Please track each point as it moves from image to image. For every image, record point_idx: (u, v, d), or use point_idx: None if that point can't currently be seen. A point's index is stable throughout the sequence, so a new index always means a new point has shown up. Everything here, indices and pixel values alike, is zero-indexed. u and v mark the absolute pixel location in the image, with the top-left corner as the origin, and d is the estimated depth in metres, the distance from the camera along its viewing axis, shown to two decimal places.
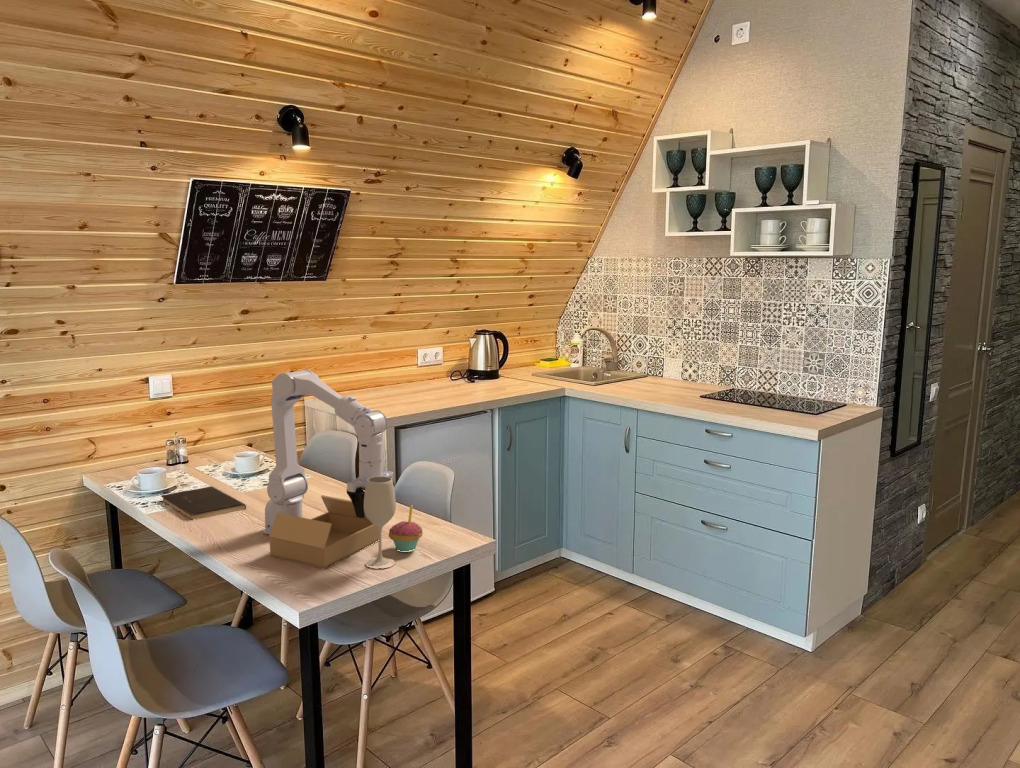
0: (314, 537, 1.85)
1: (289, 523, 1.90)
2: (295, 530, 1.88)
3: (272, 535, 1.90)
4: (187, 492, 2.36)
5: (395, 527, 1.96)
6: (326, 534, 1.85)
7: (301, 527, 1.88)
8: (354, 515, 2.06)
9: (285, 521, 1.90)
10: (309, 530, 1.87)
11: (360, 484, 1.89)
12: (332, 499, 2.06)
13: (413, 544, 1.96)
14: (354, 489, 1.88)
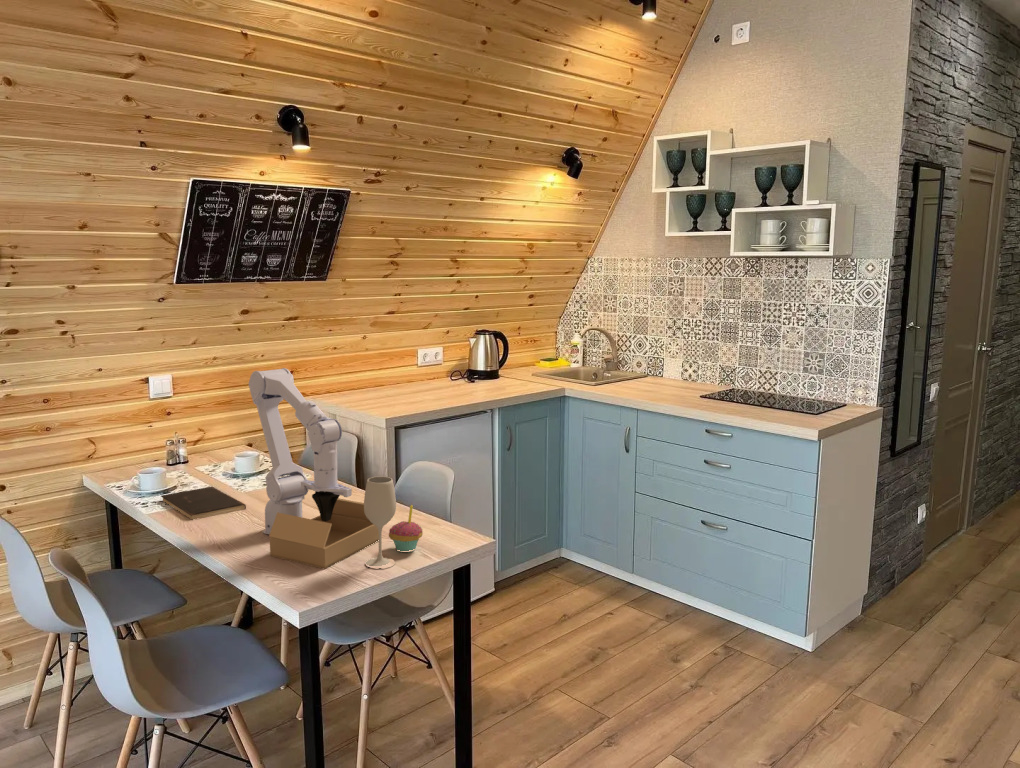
0: (314, 537, 1.85)
1: (289, 523, 1.90)
2: (295, 530, 1.88)
3: (272, 535, 1.90)
4: (187, 492, 2.36)
5: (395, 527, 1.96)
6: (326, 534, 1.85)
7: (301, 527, 1.88)
8: (354, 515, 2.06)
9: (285, 521, 1.90)
10: (309, 530, 1.87)
11: (306, 484, 1.96)
12: None
13: (413, 544, 1.96)
14: (302, 487, 1.98)
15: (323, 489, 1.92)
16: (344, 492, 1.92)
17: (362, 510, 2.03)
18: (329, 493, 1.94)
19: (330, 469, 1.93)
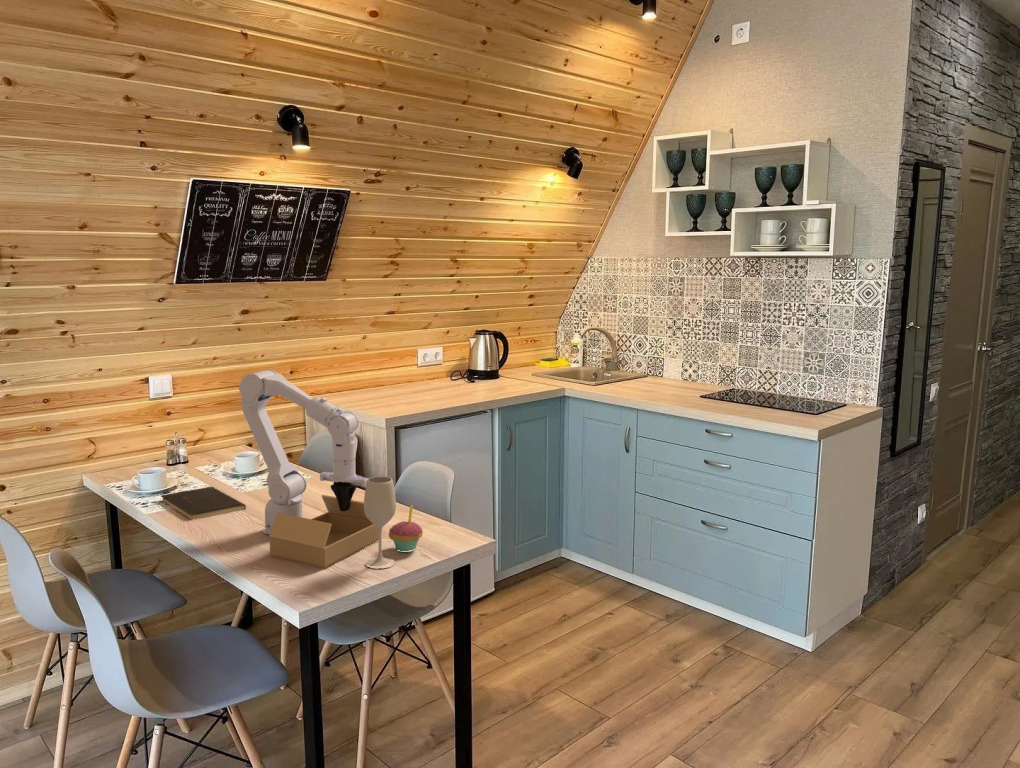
0: (314, 537, 1.85)
1: (289, 523, 1.90)
2: (295, 530, 1.88)
3: (272, 535, 1.90)
4: (187, 492, 2.36)
5: (395, 527, 1.96)
6: (326, 534, 1.85)
7: (301, 527, 1.88)
8: (354, 515, 2.06)
9: (285, 521, 1.90)
10: (309, 530, 1.87)
11: (325, 476, 2.03)
12: (333, 498, 2.06)
13: (413, 544, 1.96)
14: (321, 478, 2.04)
15: (342, 480, 1.99)
16: (362, 482, 1.98)
17: (362, 510, 2.03)
18: (347, 484, 2.01)
19: (352, 459, 2.00)
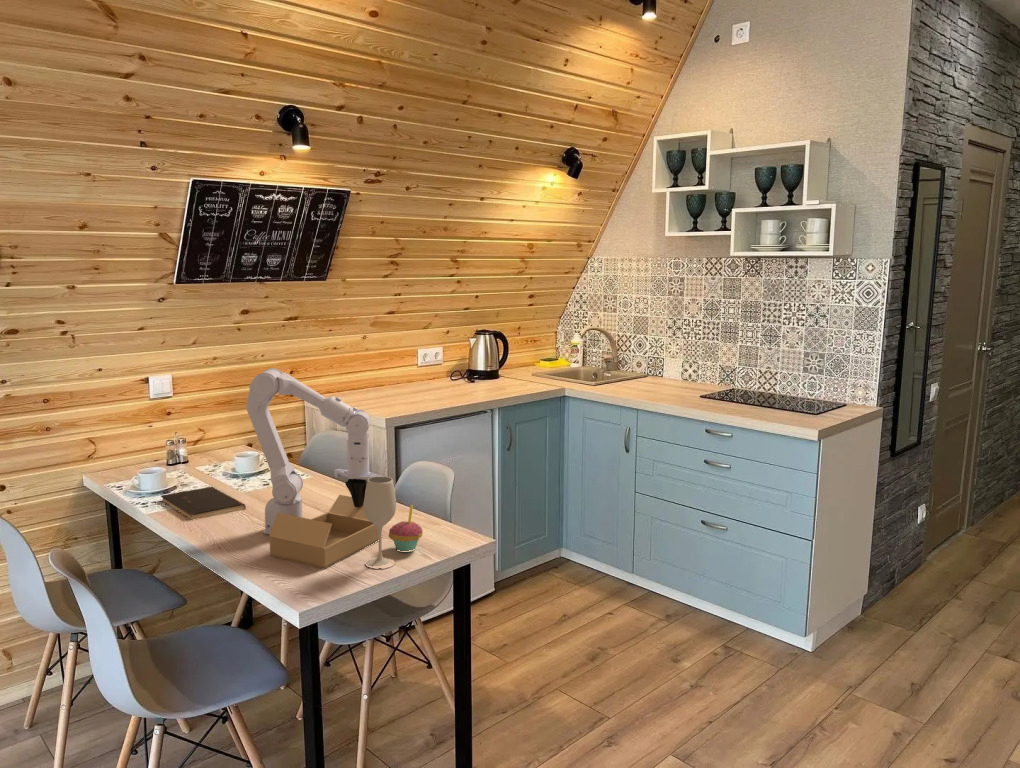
0: (314, 537, 1.85)
1: (289, 523, 1.90)
2: (295, 530, 1.88)
3: (272, 535, 1.90)
4: (187, 492, 2.36)
5: (395, 527, 1.96)
6: (326, 534, 1.85)
7: (301, 527, 1.88)
8: (356, 515, 2.07)
9: (285, 521, 1.90)
10: (309, 530, 1.87)
11: (339, 472, 2.08)
12: (349, 497, 2.12)
13: (413, 544, 1.96)
14: (335, 475, 2.09)
15: (356, 477, 2.04)
16: None
17: None
18: (362, 481, 2.06)
19: (368, 456, 2.06)
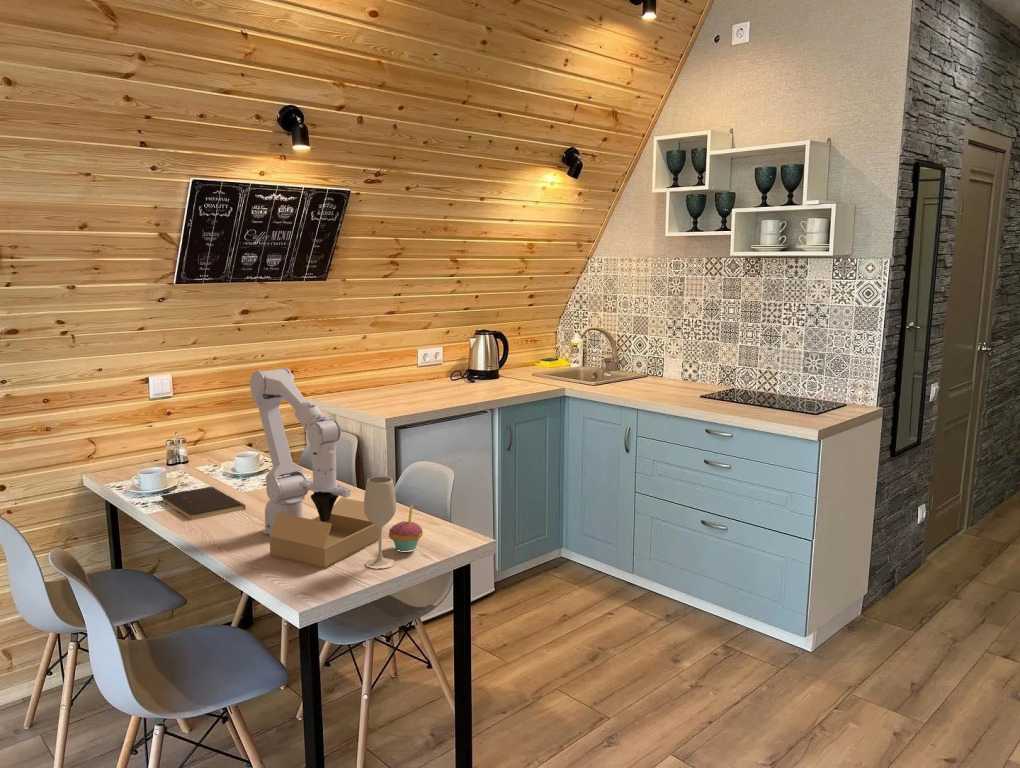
0: (314, 537, 1.85)
1: (289, 523, 1.90)
2: (295, 530, 1.88)
3: (272, 535, 1.90)
4: (187, 492, 2.36)
5: (395, 527, 1.96)
6: (326, 534, 1.85)
7: (301, 527, 1.88)
8: (357, 515, 2.07)
9: (285, 521, 1.90)
10: (309, 530, 1.87)
11: (305, 485, 1.96)
12: (351, 500, 2.13)
13: (413, 544, 1.96)
14: (301, 487, 1.97)
15: (322, 489, 1.92)
16: (343, 492, 1.91)
17: None
18: (328, 493, 1.94)
19: (328, 469, 1.92)
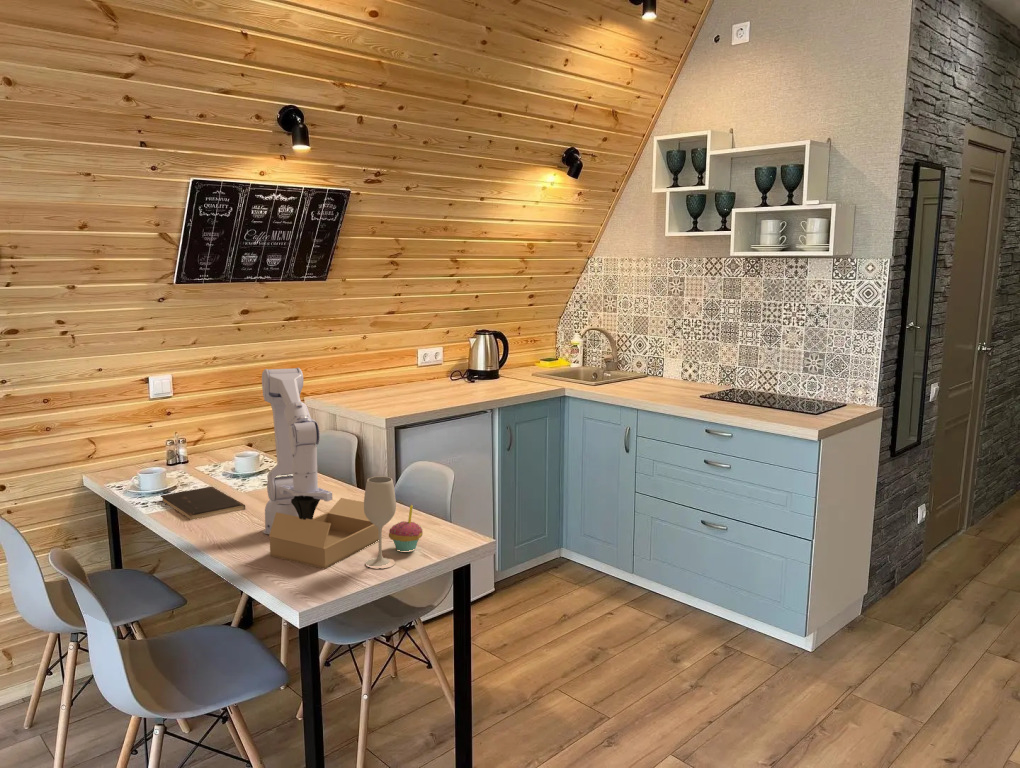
0: (314, 537, 1.85)
1: (288, 523, 1.90)
2: (294, 530, 1.88)
3: (272, 535, 1.90)
4: (187, 492, 2.36)
5: (395, 527, 1.96)
6: (325, 534, 1.84)
7: (300, 527, 1.88)
8: (357, 515, 2.07)
9: (284, 521, 1.90)
10: (308, 530, 1.87)
11: (285, 489, 1.90)
12: (351, 500, 2.13)
13: (413, 544, 1.96)
14: (281, 491, 1.91)
15: (303, 493, 1.86)
16: (324, 496, 1.85)
17: None
18: (309, 497, 1.87)
19: (305, 473, 1.85)
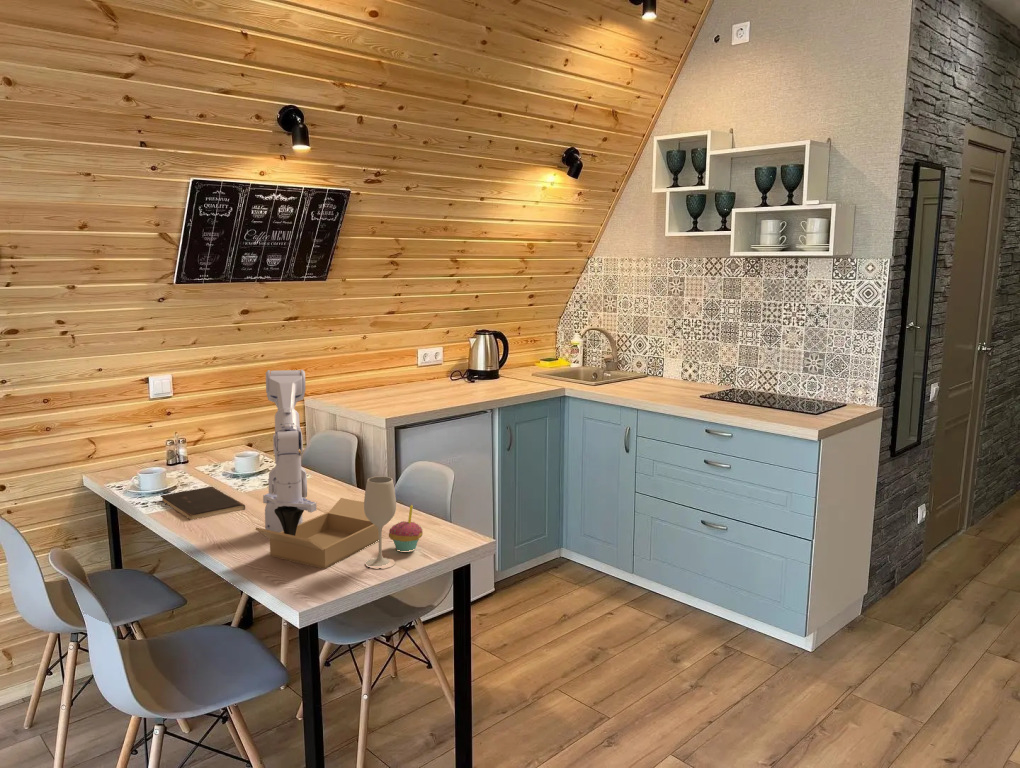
0: (307, 545, 1.83)
1: (275, 535, 1.86)
2: (285, 539, 1.86)
3: (271, 538, 1.90)
4: (187, 492, 2.36)
5: (395, 527, 1.96)
6: (315, 545, 1.81)
7: (288, 539, 1.84)
8: (357, 515, 2.07)
9: (270, 534, 1.86)
10: (297, 541, 1.83)
11: (268, 498, 1.85)
12: (351, 500, 2.13)
13: (413, 544, 1.96)
14: (264, 501, 1.86)
15: (286, 504, 1.81)
16: (308, 507, 1.80)
17: None
18: (293, 508, 1.83)
19: (286, 483, 1.80)
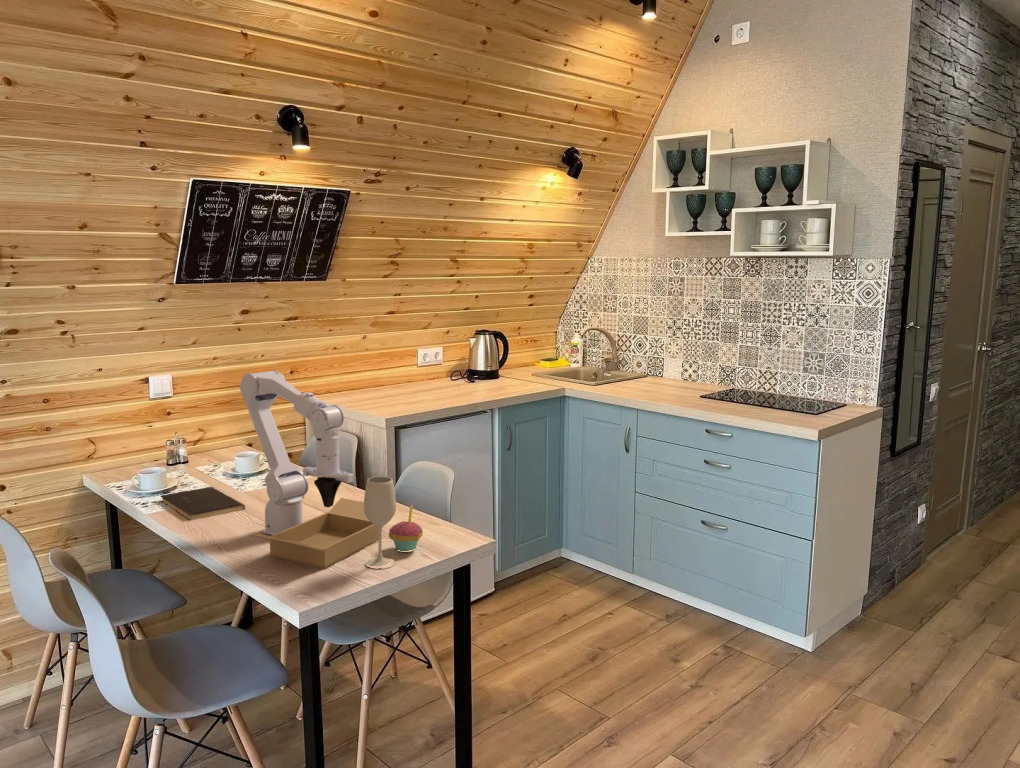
0: None
1: None
2: None
3: None
4: (187, 492, 2.36)
5: (395, 527, 1.96)
6: (314, 548, 1.81)
7: (287, 542, 1.84)
8: (357, 515, 2.07)
9: None
10: None
11: (308, 471, 1.98)
12: (351, 500, 2.13)
13: (413, 544, 1.96)
14: (304, 473, 1.99)
15: (325, 475, 1.94)
16: (346, 478, 1.94)
17: None
18: (331, 479, 1.96)
19: (333, 455, 1.94)
